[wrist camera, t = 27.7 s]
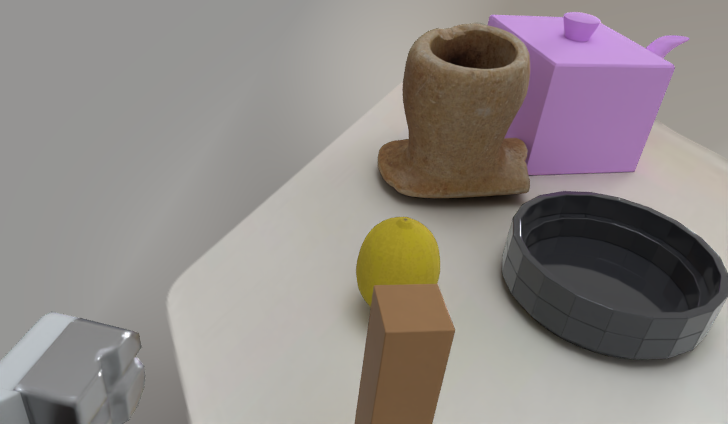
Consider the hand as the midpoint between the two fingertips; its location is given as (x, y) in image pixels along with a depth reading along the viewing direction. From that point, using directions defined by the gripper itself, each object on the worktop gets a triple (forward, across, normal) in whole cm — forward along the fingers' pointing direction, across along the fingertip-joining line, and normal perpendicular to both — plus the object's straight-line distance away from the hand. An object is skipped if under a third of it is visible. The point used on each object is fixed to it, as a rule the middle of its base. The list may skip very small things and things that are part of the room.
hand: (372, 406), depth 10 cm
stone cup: (+45, -3, +22) cm, 50 cm away
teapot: (+60, -13, +22) cm, 65 cm away
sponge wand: (+11, 0, +21) cm, 24 cm away
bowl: (+33, -14, +21) cm, 42 cm away
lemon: (+26, +1, +22) cm, 34 cm away
